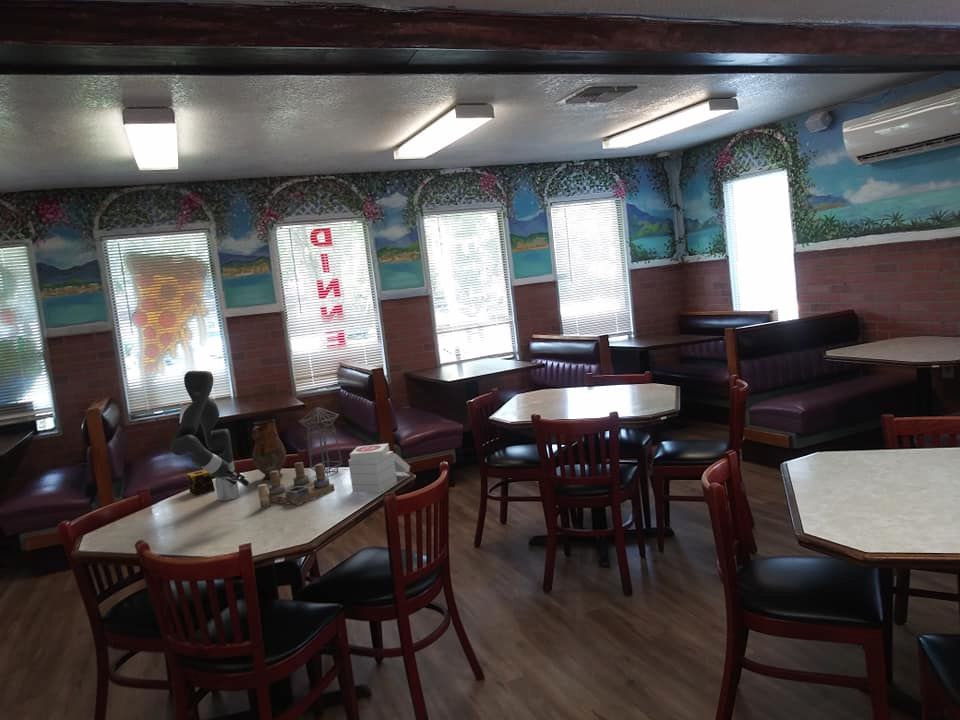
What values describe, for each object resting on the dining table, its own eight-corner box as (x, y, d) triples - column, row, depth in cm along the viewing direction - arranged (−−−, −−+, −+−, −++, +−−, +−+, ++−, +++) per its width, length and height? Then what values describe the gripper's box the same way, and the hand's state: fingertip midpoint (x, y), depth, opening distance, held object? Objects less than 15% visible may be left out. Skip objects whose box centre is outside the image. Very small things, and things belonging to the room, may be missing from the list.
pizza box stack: (414, 474, 353) (409, 437, 351) (381, 493, 326) (375, 454, 324) (381, 473, 361) (376, 438, 359) (345, 492, 334) (340, 454, 332)
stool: (266, 501, 336) (262, 473, 334) (303, 486, 353) (299, 460, 352) (297, 505, 323) (293, 476, 321) (334, 490, 340) (330, 463, 339)
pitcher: (295, 472, 386) (286, 416, 382) (276, 484, 365) (267, 425, 361) (266, 474, 389) (257, 418, 386) (246, 486, 368) (236, 427, 365)
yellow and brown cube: (215, 491, 366) (212, 471, 365) (194, 496, 360) (191, 476, 359) (210, 487, 374) (206, 468, 373) (189, 492, 369) (186, 473, 368)
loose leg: (259, 508, 326) (255, 486, 324) (266, 505, 329) (263, 483, 328) (264, 509, 323) (261, 487, 322) (272, 506, 326) (268, 484, 325)
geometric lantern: (349, 470, 375) (339, 404, 370) (328, 480, 362) (318, 411, 357) (326, 469, 383) (316, 403, 378) (305, 478, 370) (294, 411, 365)
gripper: (228, 458, 304) (255, 477, 314) (208, 456, 312) (236, 474, 323) (219, 474, 300) (247, 492, 310) (199, 471, 309) (227, 490, 319)
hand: (241, 483), depth 316 cm, fingers open, 8 cm apart
